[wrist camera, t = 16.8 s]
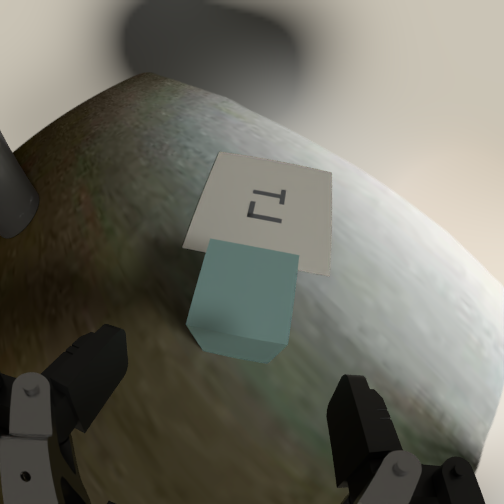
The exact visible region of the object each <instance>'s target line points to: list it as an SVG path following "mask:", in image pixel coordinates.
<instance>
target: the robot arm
mask: <svg viewBox="0 0 504 504" xmlns="http://www.w3.org/2000/svg"><path fill="white" fill-rule="evenodd" d="M38 204H39V196H38V193H37V192H36V190H35V189H34V187H33V186H32V184H31V183H30V181H29V179H28V178H27V176H26V175H25V173H24V171H23V170H22V168H21V167H20V165H19V163H18V162H17V160H16V158H15V156H14V155H13V153H12V151H11V150H10V148H9V146H8V144H7V142H6V141H5V139H4V137H3V135H2V133H1V131H0V235H1V236H2V237H3V238H11V237H14V236H16V235H17V234H19V233H20V232H21V231H22V230H23V229H24V228H25V227H26V226H27V225H28V224H29V222H30V221H31V220H32V218H33V216H34V215H35V213H36V210H37V208H38ZM127 367H128V356H127V345H126V333H125V331H124V330H123V329H120V328H117V327H114V326H112V325H109V324H104V325H103V326H102V327H101V328H100V329H99V330H97V331H96V332H95V333H93V332H90V333H88V334H86V335H83V336H81V337H79V338H78V339H77V340H76V341H75V342H74V343H73V344H72V346H70V347H69V348H68V349H66V352H63V353H62V354H61V355H60V356H59V357H58V358H57V359H56V360H55V361H54V362H53V363H52V364H51V365H50V366H49V367H48V368H46V369H45V370H44V371H43V372H42V373H41V374H38V373H32V372H31V373H25V374H22V375H20V376H19V377H18V378H14V377H11V376H8V375H5V374H2V373H0V470H1V483H2V492H3V499H4V504H91V502H90V499H89V496H88V494H87V491H86V489H85V487H84V485H83V483H82V481H81V478H80V474H79V470H78V466H77V461H76V456H75V452H74V446H73V441H72V436H71V432H72V431H73V429H74V428H76V429H78V430H80V431H82V432H84V433H85V432H86V431H87V429H88V428H89V426H90V425H91V423H92V422H93V420H94V419H95V417H96V416H97V414H98V413H99V412H100V410H101V409H102V407H103V406H104V404H105V403H106V401H107V400H108V399H109V397H110V396H111V394H112V393H113V391H114V390H115V388H116V387H117V386H118V384H119V383H120V381H121V380H122V379H123V377H124V376H125V374H126V371H127ZM327 423H328V429H329V435H330V442H331V448H332V455H333V462H334V469H335V477H336V484H337V488H342V487H348V488H349V494H348V495H347V496H346V497H345V498H344V500H343V501H342V502H341V504H485V502H484V499H483V496H482V493H481V490H480V487H479V485H478V482H477V479H476V477H475V474H474V472H473V469H472V467H471V465H470V464H469V462H468V461H466V460H465V459H463V458H461V457H451V458H449V459H447V460H446V461H445V462H444V463H443V464H442V465H441V466H433V465H423V464H421V463H420V461H419V460H418V458H417V457H416V456H415V455H413V454H412V453H410V452H407V451H403V449H402V447H401V444H400V441H399V439H398V436H397V433H396V431H395V428H394V425H393V423H392V420H390V415H389V413H388V411H387V408H386V405H385V403H384V400H383V398H382V397H381V396H380V395H379V394H378V393H377V392H376V391H375V390H374V389H370V388H369V386H368V383H367V381H366V378H365V377H364V376H361V375H346V374H345V375H343V376H342V377H341V379H340V381H339V383H338V386H337V388H336V390H335V392H334V394H333V396H332V398H331V400H330V402H329V404H328V408H327ZM107 504H115V503H113V502H111V501H108V503H107Z"/></svg>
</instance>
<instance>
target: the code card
mask: <svg viewBox="0 0 504 504" xmlns="http://www.w3.org/2000/svg"><path fill="white" fill-rule="evenodd" d="M331 233H332V173H331V172H327V171H322V170H318V169H313V168H309V167H304V166H300V165H295V164H290V163H285V162H280V161H274V160H269V159H263V158H257V157H251V156H245V155H239V154H232V153H225V152H219V154H218V156H217V159H216V161H215V163H214V166H213V168H212V171H211V173H210V176H209V178H208V180H207V183H206V185H205V188H204V190H203V193H202V196H201V198H200V201H199V203H198V206H197V209H196V211H195V214H194V216H193V219H192V222H191V225H190V227H189V230H188V233H187V236H186V238H185V241H184V244H183V247H182V248H185V249H190V250H195V251H200V252H205V253H206V251H207V248H208V244H209V241H210V238H211V239H216V240H222V241H227V242H232V243H238V244H243V245H248V246H254V247H259V248H264V249H270V250H275V251H280V252H285V253H291V254H296V255H299V263H298V271H303V272H308V273H314V274H319V275H324V276H330V260H331Z"/></svg>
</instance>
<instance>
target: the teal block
mask: <svg viewBox="0 0 504 504" xmlns="http://www.w3.org/2000/svg"><path fill="white" fill-rule="evenodd" d="M298 263H299V255H296V254H291V253H285V252H280V251H275V250H270V249H264V248H259V247H254V246H248V245H243V244H238V243H232V242H227V241H222V240H216V239H211V238H210V241H209V244H208V248H207V251H206V254H205V258H204V261H203V264H202V268H201V271H200V275H199V278H198V282H197V285H196V289H195V292H194V296H193V299H192V303H191V307H190V310H189V314H188V318H187V322H186V326H187V327H188V329H189V330H190V332H191V333H192V335H193V336H194V338H195V339H196V341H197V342H198V344H199V345H200V347H201V348H202V350H203V351H206V352H210V353H214V354H219V355H224V356H229V357H233V358H239V359H244V360H249V361H255V362H260V363H266V364H268V363H269V362H270V361H271V360H272V359H273V358H274V357H275V356H276V355H278V354H279V353H280V352H281V351H282V350H283V349H284V348H285V347H286V346H287V345H288V340H289V333H290V326H291V319H292V312H293V304H294V296H295V288H296V280H297V271H298Z"/></svg>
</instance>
